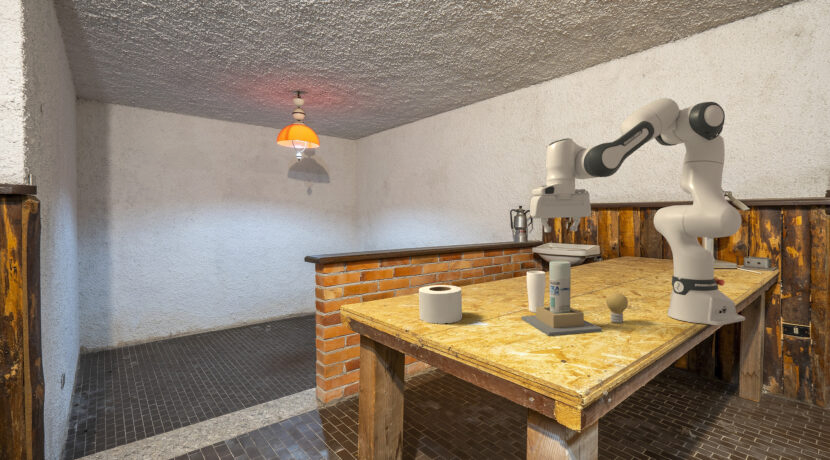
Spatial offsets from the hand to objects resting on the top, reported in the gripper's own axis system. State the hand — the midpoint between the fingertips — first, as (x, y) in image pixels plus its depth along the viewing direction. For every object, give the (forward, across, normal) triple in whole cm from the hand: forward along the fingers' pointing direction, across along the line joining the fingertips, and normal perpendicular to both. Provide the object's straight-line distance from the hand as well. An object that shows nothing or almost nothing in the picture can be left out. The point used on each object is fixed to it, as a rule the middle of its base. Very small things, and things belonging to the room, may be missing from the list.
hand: (560, 231), depth 120 cm
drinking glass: (+31, 0, -17) cm, 36 cm away
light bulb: (+31, -19, +2) cm, 37 cm away
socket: (+31, +1, 0) cm, 31 cm away
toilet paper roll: (+31, +37, -18) cm, 52 cm away
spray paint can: (+30, +1, 0) cm, 30 cm away
